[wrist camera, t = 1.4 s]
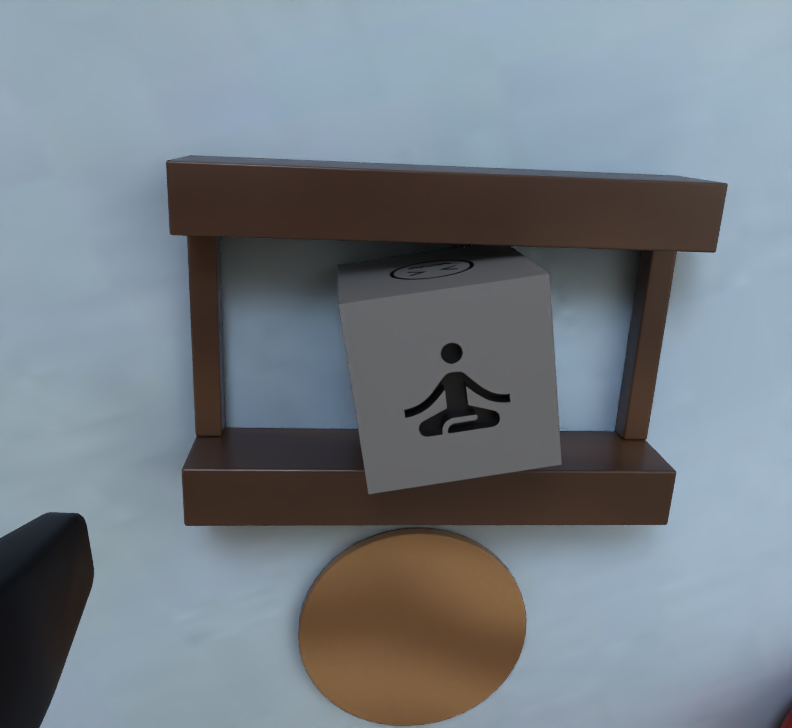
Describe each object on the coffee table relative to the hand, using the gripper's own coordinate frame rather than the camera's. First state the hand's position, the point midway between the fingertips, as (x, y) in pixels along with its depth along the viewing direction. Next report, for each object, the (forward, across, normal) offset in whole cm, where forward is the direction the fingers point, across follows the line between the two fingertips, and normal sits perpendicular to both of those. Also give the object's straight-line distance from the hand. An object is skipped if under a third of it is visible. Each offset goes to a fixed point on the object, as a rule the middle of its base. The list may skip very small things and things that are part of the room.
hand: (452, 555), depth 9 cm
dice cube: (+14, 0, +3) cm, 14 cm away
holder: (+14, 0, +3) cm, 14 cm away
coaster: (+13, 0, +13) cm, 18 cm away
